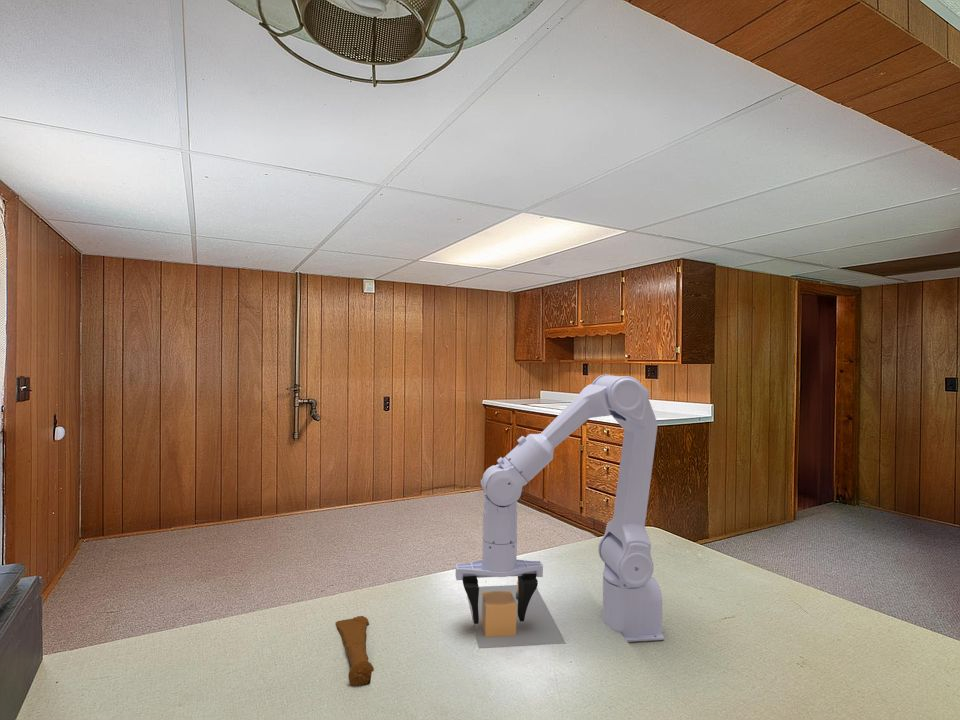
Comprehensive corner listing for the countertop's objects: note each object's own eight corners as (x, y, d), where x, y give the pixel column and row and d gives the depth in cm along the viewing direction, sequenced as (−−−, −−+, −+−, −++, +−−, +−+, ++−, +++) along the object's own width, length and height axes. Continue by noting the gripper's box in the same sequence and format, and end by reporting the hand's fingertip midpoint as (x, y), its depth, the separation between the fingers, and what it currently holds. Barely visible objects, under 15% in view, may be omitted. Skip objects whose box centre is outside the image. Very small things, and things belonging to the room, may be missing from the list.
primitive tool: (335, 624, 89) (335, 604, 89) (366, 618, 91) (367, 599, 91) (348, 692, 71) (349, 667, 71) (387, 684, 73) (388, 659, 73)
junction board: (534, 591, 101) (535, 569, 101) (565, 652, 80) (566, 624, 80) (465, 594, 100) (465, 572, 99) (478, 657, 79) (479, 628, 79)
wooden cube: (510, 619, 87) (510, 590, 87) (515, 635, 82) (516, 604, 82) (481, 621, 87) (482, 591, 87) (485, 637, 82) (486, 606, 82)
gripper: (536, 529, 89) (535, 605, 90) (454, 531, 88) (453, 609, 88) (546, 543, 82) (545, 626, 83) (458, 546, 81) (456, 631, 81)
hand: (498, 619), depth 85 cm, fingers open, 7 cm apart
